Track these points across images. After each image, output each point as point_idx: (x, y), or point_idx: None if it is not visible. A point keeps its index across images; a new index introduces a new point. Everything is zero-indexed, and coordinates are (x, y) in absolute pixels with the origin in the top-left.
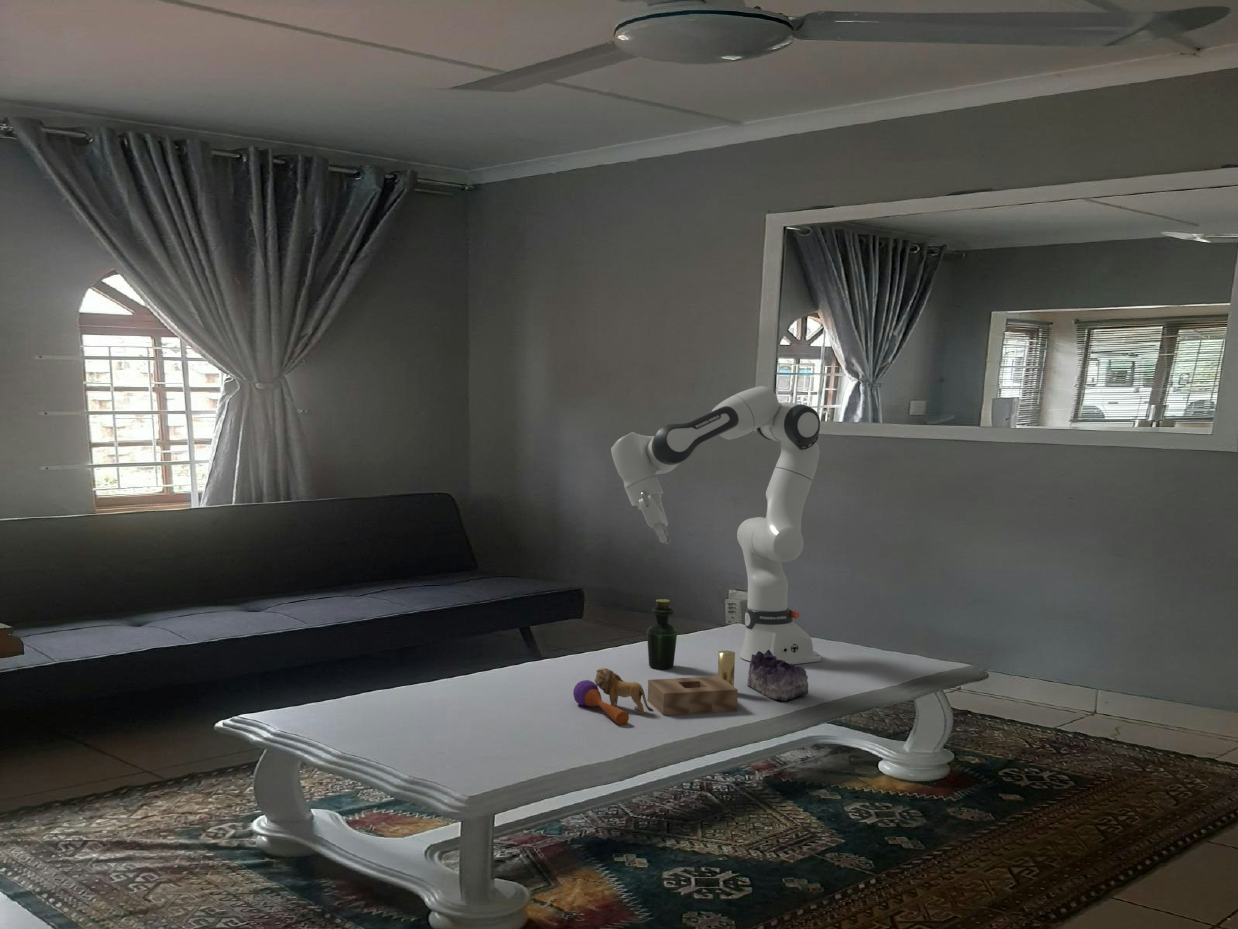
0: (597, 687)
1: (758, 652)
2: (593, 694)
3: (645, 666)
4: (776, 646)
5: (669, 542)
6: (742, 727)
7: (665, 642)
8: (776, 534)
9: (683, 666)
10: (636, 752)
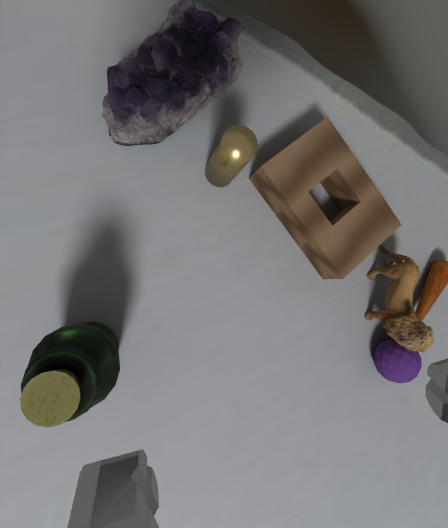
0: (398, 345)
1: (122, 96)
2: None
3: None
4: None
5: (135, 452)
6: (375, 111)
7: (112, 339)
8: None
9: (60, 307)
10: None
